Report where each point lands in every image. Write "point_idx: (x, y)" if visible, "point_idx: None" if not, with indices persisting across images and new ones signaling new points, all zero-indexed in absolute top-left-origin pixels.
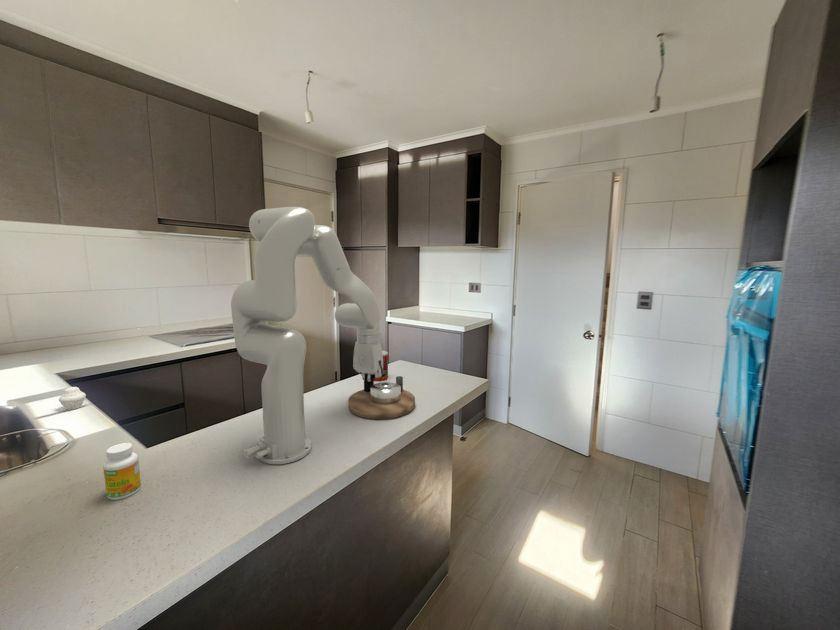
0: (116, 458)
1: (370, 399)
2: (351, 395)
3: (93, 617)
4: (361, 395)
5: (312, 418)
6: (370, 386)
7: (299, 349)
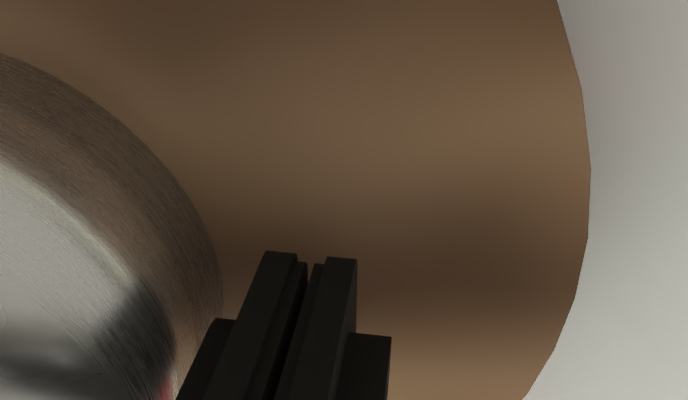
0: None
1: (122, 122)
2: (565, 74)
3: None
4: (389, 178)
5: None
6: (193, 366)
7: None
